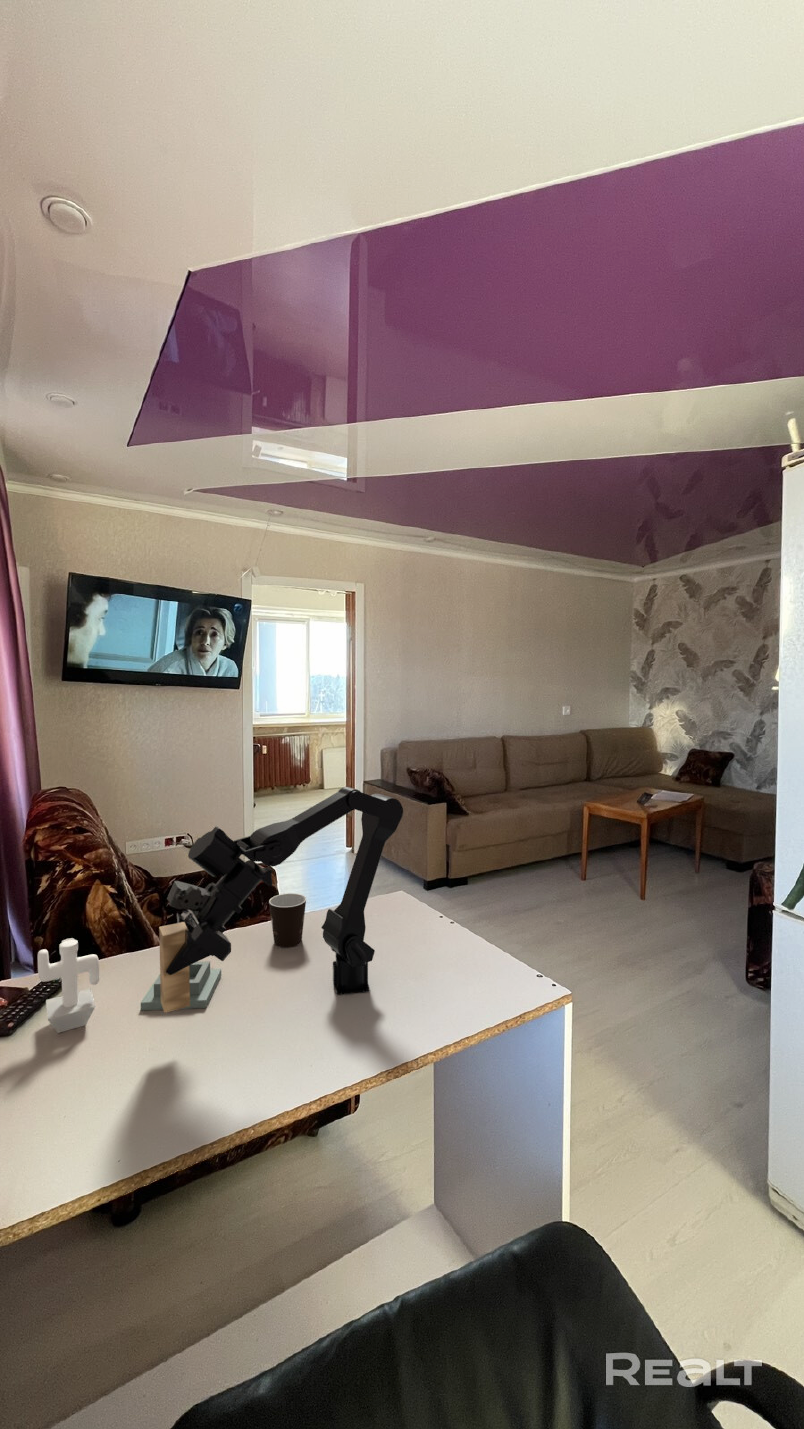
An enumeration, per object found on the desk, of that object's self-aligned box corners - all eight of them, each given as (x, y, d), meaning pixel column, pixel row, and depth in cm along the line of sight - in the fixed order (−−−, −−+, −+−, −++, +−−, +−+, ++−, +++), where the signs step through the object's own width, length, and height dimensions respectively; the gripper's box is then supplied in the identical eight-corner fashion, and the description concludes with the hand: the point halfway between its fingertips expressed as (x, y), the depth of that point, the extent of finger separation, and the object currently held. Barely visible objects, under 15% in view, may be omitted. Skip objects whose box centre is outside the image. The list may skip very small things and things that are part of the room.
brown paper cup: (298, 951, 131) (298, 908, 130) (263, 947, 132) (262, 905, 132) (316, 929, 142) (315, 890, 142) (283, 926, 144) (283, 887, 143)
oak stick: (185, 994, 100) (184, 921, 99) (189, 1005, 96) (188, 930, 96) (160, 1001, 98) (159, 926, 97) (164, 1012, 94) (162, 935, 94)
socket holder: (221, 975, 120) (221, 956, 120) (206, 1007, 108) (206, 987, 108) (162, 977, 119) (162, 958, 119) (140, 1010, 107) (140, 989, 107)
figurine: (102, 1024, 103) (100, 942, 102) (40, 1042, 97) (37, 956, 97) (98, 1005, 109) (96, 928, 108) (39, 1021, 103) (36, 940, 103)
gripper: (186, 850, 106) (121, 921, 101) (209, 880, 90) (133, 967, 85) (230, 884, 110) (170, 954, 105) (259, 919, 94) (190, 1003, 89)
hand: (165, 967), depth 96 cm, fingers closed on oak stick, 4 cm apart
